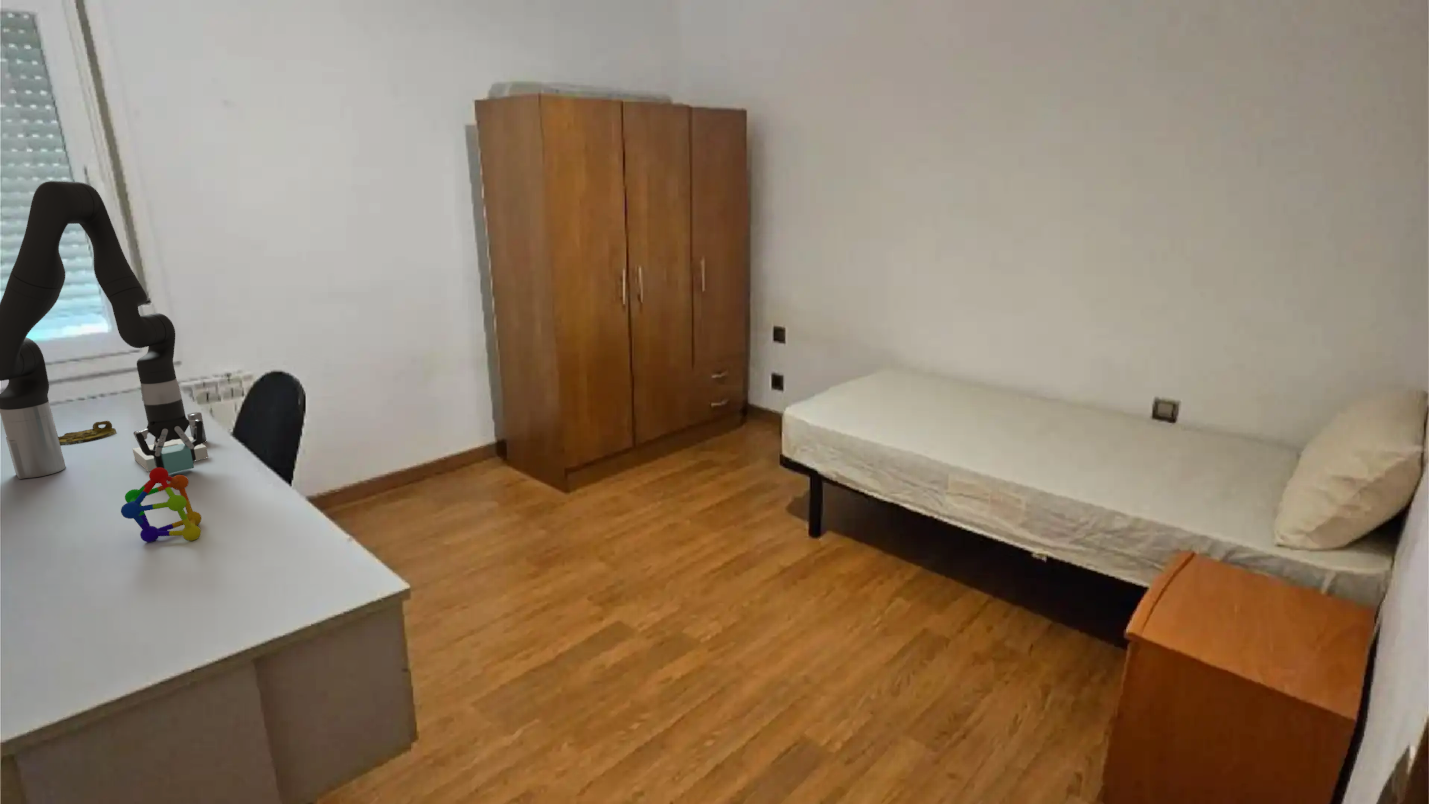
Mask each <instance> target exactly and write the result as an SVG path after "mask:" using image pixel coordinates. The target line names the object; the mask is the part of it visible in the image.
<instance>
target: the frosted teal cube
mask: <svg viewBox="0 0 1429 804" xmlns="http://www.w3.org/2000/svg"><path fill="white" fill-rule="evenodd" d="M161 456H162V461H163V465H164V469H166V470H167V471H168V475H169V474H174V473H178V472H183V471H186V470H190V469H194V468H195V466H194V465H195V464H194V463H193V460H192V455H191V451H190V448H189V447H187V446H186V445H185V444H179V445H174V446H169V447H165V448H162V452H161Z"/></svg>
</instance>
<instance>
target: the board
mask: <svg viewBox="0 0 1429 804" xmlns="http://www.w3.org/2000/svg"><path fill="white" fill-rule="evenodd" d="M187 437H188V438H189V440H190V441H192V440H193V437H192V436H187ZM179 444H184V443H183V442H182V441H181V440H180V439H177V440H171V441H168V442H165V443H164V447H163V448H165V447H169V446H174V445H179ZM147 445H148V447H149V449H152V450H153V447H154V443H153V444H147ZM194 452H195V456H196V461H200V459H201V460H204V458H205V459H207V458H206V457H209V453H208V447H207V446H206V445H205V444H204V443H202V444H200V445H197V446H195V447H194ZM132 453H133V458H134V460H135V462H137V463H138V464H139V465H140V466H142V467H143V469H145V470H146V471H147V472H149V473H150V472H151V470H153V469H154V468H157V467H156V465H155V461H154V456H147V455H145V454H144V453H143V452H142V450H141V448H140V446H139V447H134V448H132Z"/></svg>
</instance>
